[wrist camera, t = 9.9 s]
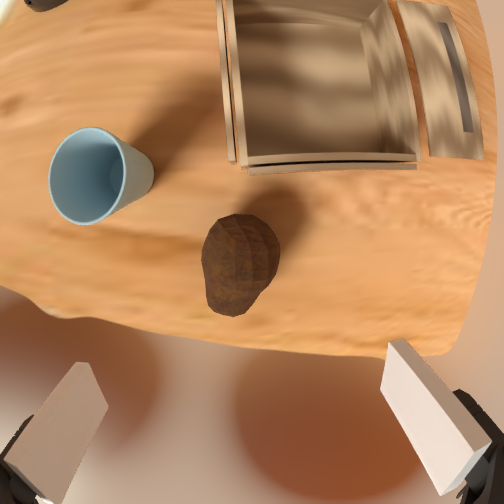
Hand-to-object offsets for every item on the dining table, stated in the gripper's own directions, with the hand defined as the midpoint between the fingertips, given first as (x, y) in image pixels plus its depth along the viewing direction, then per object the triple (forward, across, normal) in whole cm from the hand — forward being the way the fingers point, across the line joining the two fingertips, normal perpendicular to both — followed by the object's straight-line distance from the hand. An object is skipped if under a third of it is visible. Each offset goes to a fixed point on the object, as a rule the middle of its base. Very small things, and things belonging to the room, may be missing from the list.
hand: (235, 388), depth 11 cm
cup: (+21, -11, +10) cm, 26 cm away
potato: (+21, 0, 0) cm, 21 cm away
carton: (+21, +9, +18) cm, 29 cm away
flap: (+12, +18, +18) cm, 28 cm away
